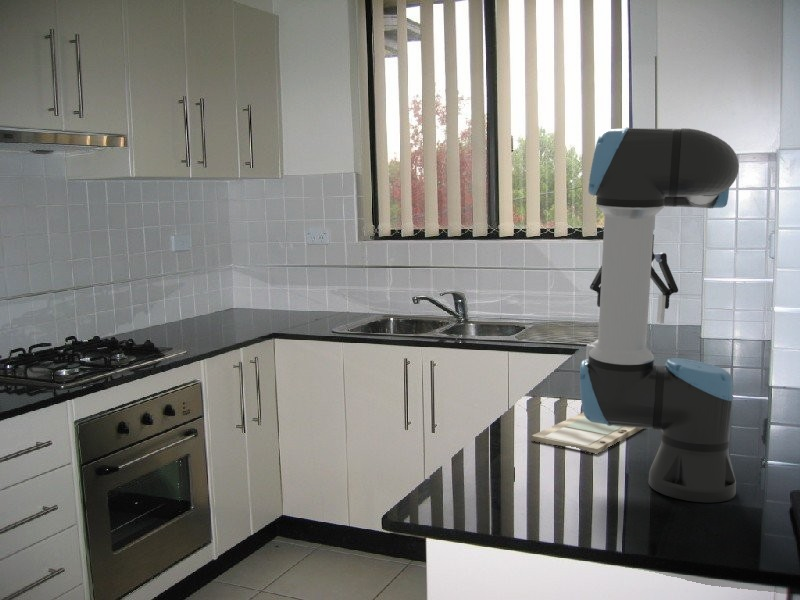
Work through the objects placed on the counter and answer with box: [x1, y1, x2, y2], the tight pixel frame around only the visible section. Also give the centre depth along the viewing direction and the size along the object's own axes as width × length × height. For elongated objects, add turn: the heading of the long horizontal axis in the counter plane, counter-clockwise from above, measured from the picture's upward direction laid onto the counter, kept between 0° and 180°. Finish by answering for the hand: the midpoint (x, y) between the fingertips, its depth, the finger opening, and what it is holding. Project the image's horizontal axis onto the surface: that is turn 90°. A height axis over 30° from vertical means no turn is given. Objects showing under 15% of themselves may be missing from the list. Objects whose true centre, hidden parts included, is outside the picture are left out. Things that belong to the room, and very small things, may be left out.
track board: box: [531, 411, 644, 455], centre depth 192 cm, size 35×15×1 cm, turn 144°
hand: (631, 322), depth 198 cm, fingers open, 13 cm apart
